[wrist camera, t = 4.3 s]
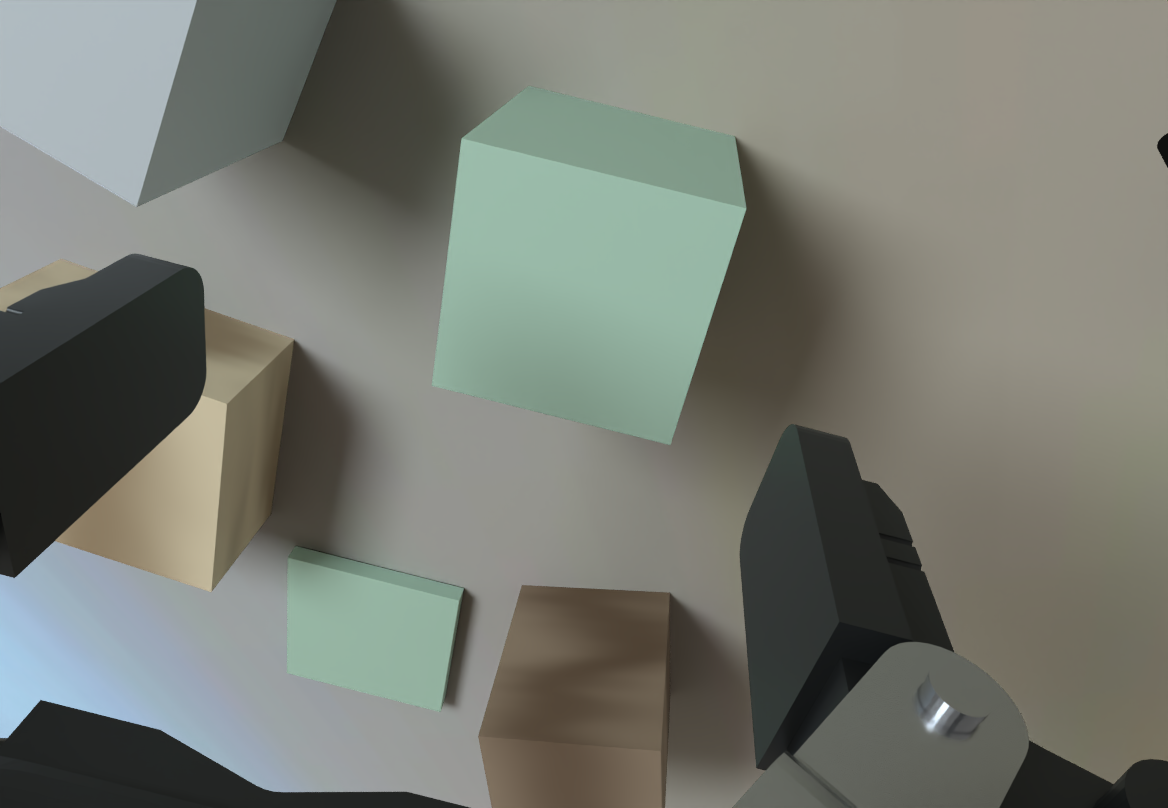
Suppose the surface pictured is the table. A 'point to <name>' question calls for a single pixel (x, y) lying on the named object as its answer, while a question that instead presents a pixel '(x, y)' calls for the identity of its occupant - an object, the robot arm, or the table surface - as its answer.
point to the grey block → (154, 83)
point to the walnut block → (581, 701)
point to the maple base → (193, 457)
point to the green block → (586, 261)
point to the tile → (370, 628)
